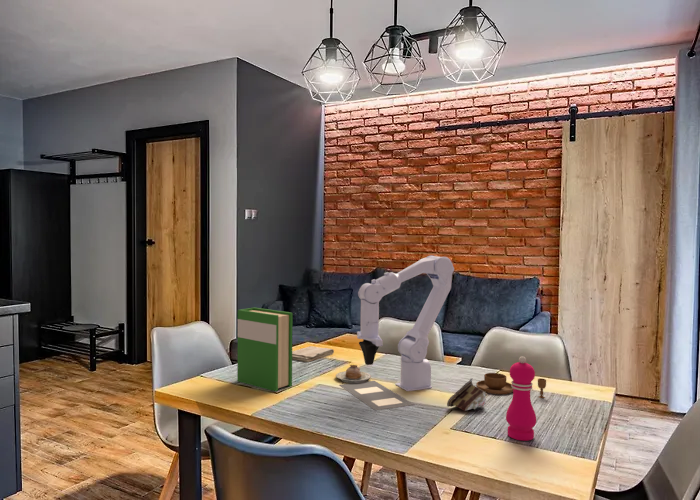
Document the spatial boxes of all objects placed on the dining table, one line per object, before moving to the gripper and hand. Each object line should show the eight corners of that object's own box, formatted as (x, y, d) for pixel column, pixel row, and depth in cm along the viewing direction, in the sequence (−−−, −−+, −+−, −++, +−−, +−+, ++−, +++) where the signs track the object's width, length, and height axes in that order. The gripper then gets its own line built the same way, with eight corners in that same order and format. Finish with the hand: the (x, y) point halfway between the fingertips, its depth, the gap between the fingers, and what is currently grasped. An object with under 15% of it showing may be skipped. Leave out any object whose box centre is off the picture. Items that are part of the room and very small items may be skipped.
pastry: (331, 382, 174) (331, 368, 174) (341, 372, 186) (341, 360, 186) (366, 385, 171) (366, 371, 171) (374, 375, 182) (374, 362, 182)
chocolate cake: (465, 415, 143) (490, 382, 147) (445, 402, 148) (469, 371, 152) (471, 431, 149) (495, 399, 153) (452, 418, 154) (475, 387, 158)
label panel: (374, 381, 176) (374, 380, 176) (414, 405, 153) (414, 404, 153) (338, 385, 171) (338, 384, 171) (374, 411, 147) (374, 410, 147)
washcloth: (284, 359, 205) (284, 352, 205) (310, 351, 221) (310, 343, 221) (309, 364, 199) (309, 356, 199) (334, 354, 215) (334, 347, 215)
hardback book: (291, 386, 169) (292, 312, 168) (275, 392, 163) (276, 315, 162) (253, 376, 179) (254, 307, 178) (237, 381, 173) (237, 309, 172)
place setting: (501, 381, 179) (501, 364, 179) (549, 398, 162) (550, 379, 162) (462, 389, 171) (462, 371, 170) (508, 407, 153) (509, 387, 153)
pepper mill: (501, 430, 134) (502, 353, 133) (528, 430, 134) (530, 352, 133) (512, 442, 126) (514, 360, 126) (541, 441, 127) (543, 359, 126)
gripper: (348, 318, 170) (348, 360, 170) (368, 326, 156) (367, 371, 157) (368, 317, 173) (367, 358, 173) (389, 324, 159) (388, 369, 160)
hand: (369, 364), depth 165 cm, fingers closed
